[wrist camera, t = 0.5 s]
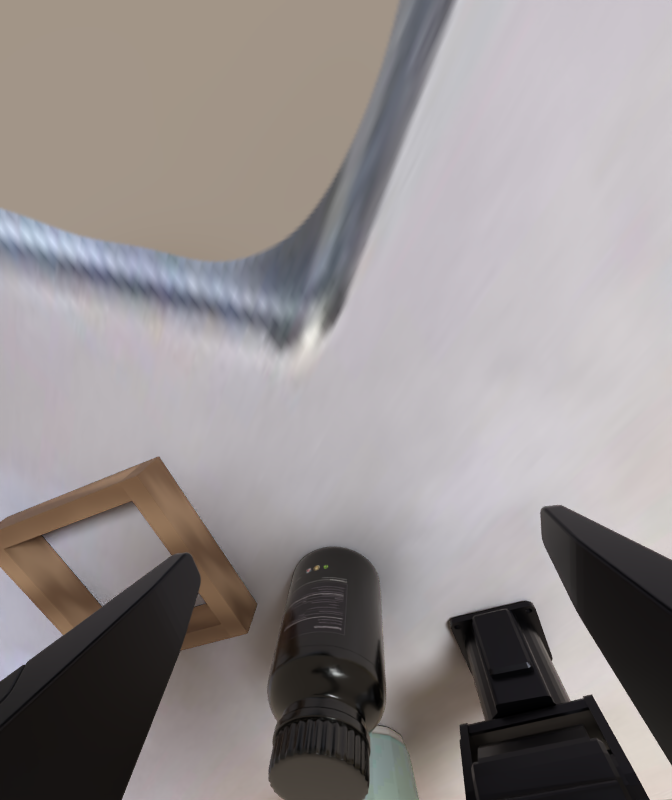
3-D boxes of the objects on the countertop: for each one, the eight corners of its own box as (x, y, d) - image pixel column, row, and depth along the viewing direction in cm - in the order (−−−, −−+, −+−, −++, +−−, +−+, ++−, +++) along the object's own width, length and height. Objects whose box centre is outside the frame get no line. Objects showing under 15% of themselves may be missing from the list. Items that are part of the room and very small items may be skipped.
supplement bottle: (392, 598, 28) (411, 820, 17) (314, 616, 29) (283, 832, 18) (361, 532, 26) (360, 732, 15) (279, 554, 27) (219, 754, 16)
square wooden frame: (257, 604, 29) (247, 633, 27) (116, 642, 32) (97, 671, 30) (158, 456, 25) (137, 475, 22) (7, 516, 28) (-26, 539, 26)
